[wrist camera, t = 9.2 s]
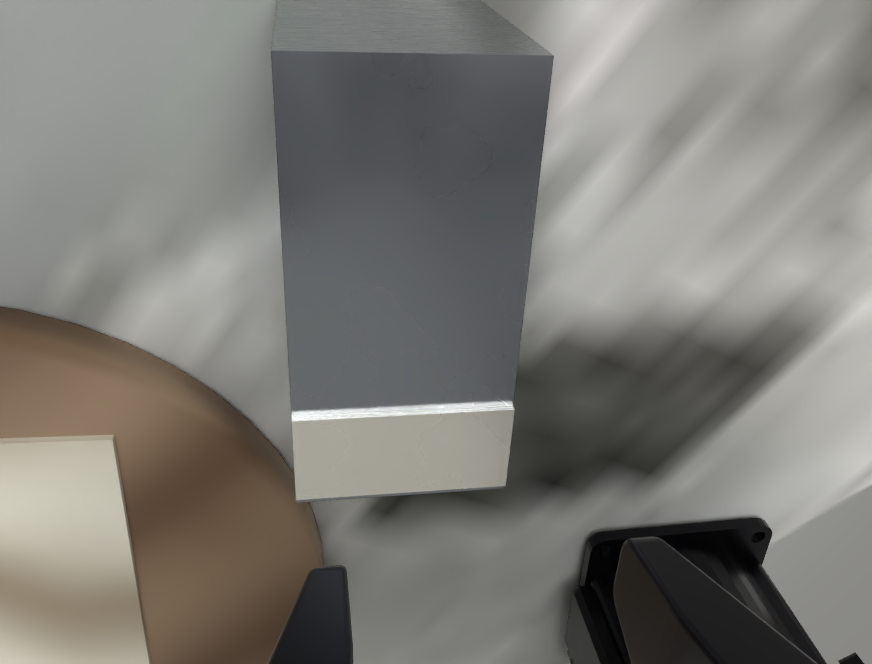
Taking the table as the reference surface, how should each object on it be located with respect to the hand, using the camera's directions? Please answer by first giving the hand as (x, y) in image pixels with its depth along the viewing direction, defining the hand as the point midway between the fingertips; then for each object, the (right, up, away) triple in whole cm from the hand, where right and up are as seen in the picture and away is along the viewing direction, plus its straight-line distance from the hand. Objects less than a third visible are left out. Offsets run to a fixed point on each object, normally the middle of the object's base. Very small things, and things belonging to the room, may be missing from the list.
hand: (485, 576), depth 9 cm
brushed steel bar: (-2, +6, +10) cm, 12 cm away
